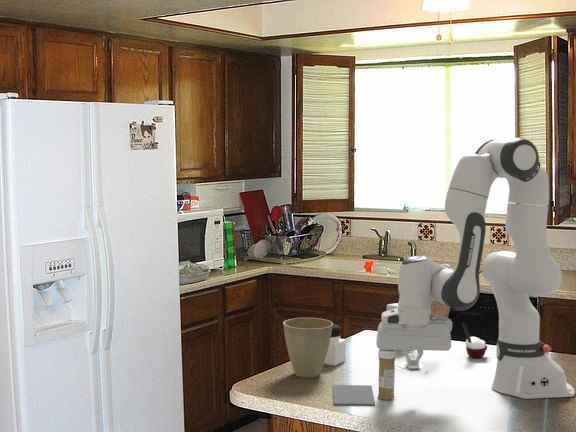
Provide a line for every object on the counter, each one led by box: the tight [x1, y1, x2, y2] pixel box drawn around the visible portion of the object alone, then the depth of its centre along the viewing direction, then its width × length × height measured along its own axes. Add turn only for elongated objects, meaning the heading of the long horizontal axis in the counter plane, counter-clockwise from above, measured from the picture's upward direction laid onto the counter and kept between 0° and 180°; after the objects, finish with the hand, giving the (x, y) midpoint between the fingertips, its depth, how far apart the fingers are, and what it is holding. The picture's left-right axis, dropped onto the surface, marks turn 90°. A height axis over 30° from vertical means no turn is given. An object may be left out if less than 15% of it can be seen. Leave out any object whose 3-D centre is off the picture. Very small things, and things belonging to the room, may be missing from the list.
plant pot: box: [282, 317, 334, 379], centre depth 254 cm, size 15×15×16 cm
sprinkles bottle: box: [377, 349, 396, 401], centre depth 231 cm, size 5×5×13 cm
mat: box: [332, 384, 376, 407], centre depth 233 cm, size 11×17×1 cm, turn 178°
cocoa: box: [461, 322, 488, 360], centre depth 274 cm, size 10×6×12 cm, turn 94°
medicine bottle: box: [323, 323, 346, 367], centre depth 268 cm, size 7×7×12 cm
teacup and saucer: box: [397, 352, 424, 370], centre depth 264 cm, size 9×8×4 cm
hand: (413, 365), depth 230 cm, fingers closed
